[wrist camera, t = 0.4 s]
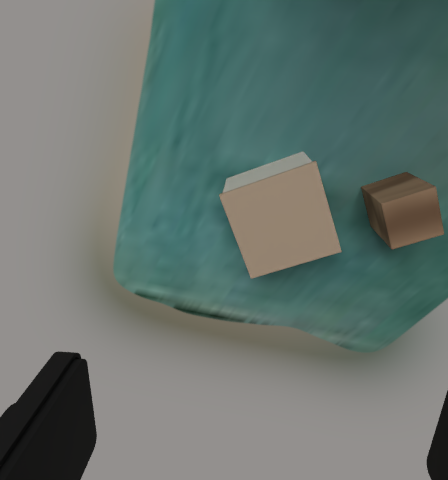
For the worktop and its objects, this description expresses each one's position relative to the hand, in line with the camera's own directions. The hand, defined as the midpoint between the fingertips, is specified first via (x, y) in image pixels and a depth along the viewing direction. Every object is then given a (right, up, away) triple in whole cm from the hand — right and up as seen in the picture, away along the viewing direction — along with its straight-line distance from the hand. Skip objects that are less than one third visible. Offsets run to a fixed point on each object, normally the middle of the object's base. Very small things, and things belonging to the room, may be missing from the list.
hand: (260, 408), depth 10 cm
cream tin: (+5, +9, +34) cm, 35 cm away
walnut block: (+18, +9, +33) cm, 38 cm away
